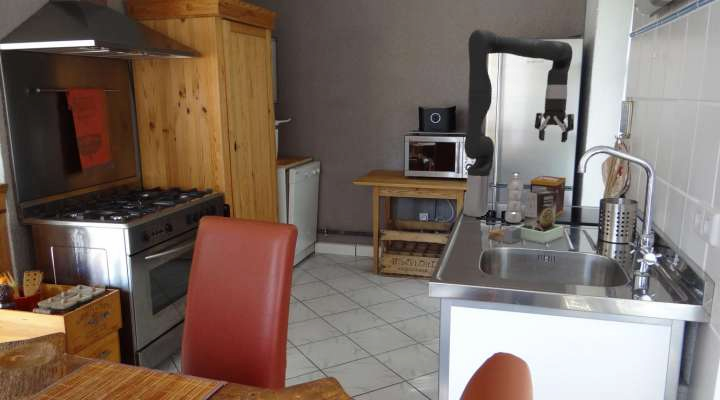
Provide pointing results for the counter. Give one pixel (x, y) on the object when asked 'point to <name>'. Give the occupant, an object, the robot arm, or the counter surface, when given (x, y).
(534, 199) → the coffee box
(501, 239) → the brown square block
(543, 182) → the supplement box
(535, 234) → the green tray
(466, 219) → the counter surface
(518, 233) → the block
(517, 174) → the plastic bottle
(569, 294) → the counter surface
